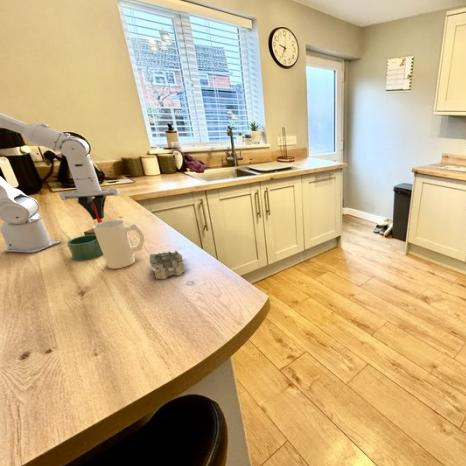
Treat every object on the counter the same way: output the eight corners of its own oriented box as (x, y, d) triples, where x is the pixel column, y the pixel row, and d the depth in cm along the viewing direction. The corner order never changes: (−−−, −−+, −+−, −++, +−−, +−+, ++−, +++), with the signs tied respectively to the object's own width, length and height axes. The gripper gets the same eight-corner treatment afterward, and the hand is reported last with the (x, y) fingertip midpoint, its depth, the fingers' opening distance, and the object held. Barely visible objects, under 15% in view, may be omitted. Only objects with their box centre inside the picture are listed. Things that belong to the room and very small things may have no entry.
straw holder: (86, 240, 96) (83, 232, 95) (104, 232, 102) (102, 224, 101) (106, 241, 95) (103, 233, 94) (123, 233, 102) (120, 225, 101)
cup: (66, 259, 83) (60, 244, 81) (89, 248, 90) (84, 234, 88) (90, 261, 83) (84, 245, 81) (111, 250, 89) (106, 235, 88)
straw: (99, 229, 97) (89, 201, 93) (102, 228, 98) (92, 200, 94) (102, 229, 97) (92, 201, 93) (105, 228, 98) (96, 200, 94)
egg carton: (186, 274, 77) (183, 260, 75) (153, 282, 73) (149, 268, 71) (182, 258, 85) (179, 245, 83) (151, 265, 81) (148, 252, 79)
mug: (107, 271, 77) (92, 230, 73) (106, 262, 82) (92, 223, 77) (151, 261, 83) (140, 222, 79) (148, 253, 88) (137, 215, 83)
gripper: (116, 173, 97) (127, 212, 102) (60, 177, 91) (75, 217, 97) (111, 177, 91) (123, 218, 97) (50, 181, 86) (67, 224, 91)
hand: (98, 218), depth 96 cm, fingers closed on straw, 1 cm apart
